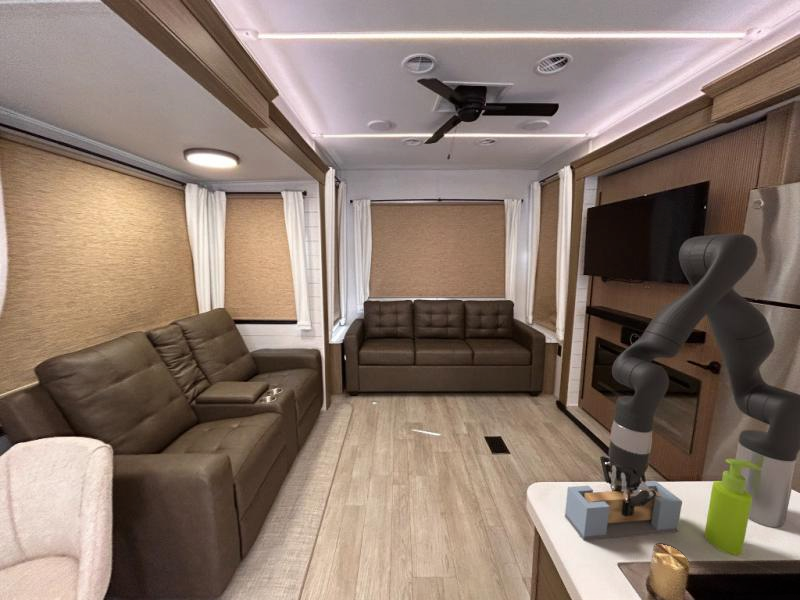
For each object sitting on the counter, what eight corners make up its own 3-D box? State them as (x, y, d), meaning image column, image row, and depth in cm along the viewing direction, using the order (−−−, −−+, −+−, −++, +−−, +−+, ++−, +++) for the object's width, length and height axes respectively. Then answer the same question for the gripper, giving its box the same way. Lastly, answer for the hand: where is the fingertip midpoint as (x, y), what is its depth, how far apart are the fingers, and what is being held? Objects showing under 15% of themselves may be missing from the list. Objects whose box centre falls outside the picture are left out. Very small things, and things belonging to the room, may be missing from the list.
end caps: (651, 509, 78) (655, 480, 77) (677, 531, 72) (682, 500, 71) (564, 516, 75) (567, 486, 74) (583, 540, 69) (587, 508, 68)
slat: (648, 510, 76) (652, 488, 75) (658, 519, 73) (662, 496, 72) (582, 515, 73) (584, 493, 73) (589, 524, 71) (592, 501, 70)
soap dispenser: (755, 558, 65) (772, 473, 63) (717, 552, 67) (732, 468, 64) (732, 535, 71) (746, 455, 69) (697, 529, 72) (710, 451, 70)
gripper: (674, 461, 64) (663, 534, 67) (619, 426, 78) (612, 488, 80) (642, 463, 64) (632, 537, 66) (593, 427, 77) (586, 489, 79)
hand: (621, 509), depth 73 cm, fingers closed on slat, 2 cm apart
